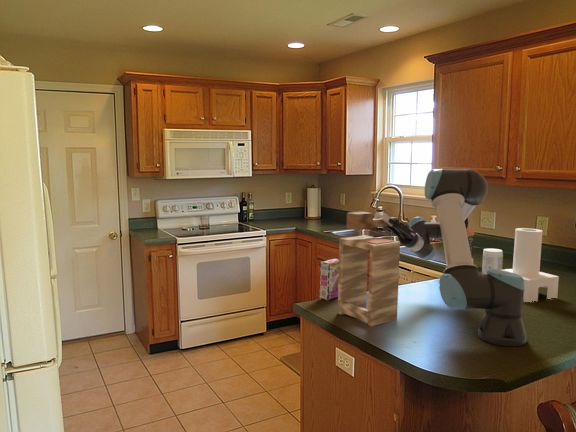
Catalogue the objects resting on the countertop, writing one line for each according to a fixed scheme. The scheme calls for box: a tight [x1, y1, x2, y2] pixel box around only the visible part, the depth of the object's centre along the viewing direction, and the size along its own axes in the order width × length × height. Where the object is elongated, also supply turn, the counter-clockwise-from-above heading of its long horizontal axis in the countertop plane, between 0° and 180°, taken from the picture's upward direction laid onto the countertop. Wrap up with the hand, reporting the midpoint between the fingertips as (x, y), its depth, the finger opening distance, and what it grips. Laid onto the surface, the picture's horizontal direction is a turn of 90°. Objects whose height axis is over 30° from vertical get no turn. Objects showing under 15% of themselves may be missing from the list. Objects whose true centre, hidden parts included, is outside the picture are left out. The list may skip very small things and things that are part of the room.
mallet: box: [346, 211, 398, 231], centre depth 189 cm, size 24×6×6 cm, turn 127°
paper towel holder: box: [502, 227, 560, 303], centre depth 216 cm, size 19×19×30 cm
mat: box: [360, 237, 396, 244], centre depth 179 cm, size 8×10×1 cm
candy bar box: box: [319, 258, 339, 302], centre depth 209 cm, size 11×5×16 cm, turn 141°
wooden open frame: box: [337, 234, 401, 327], centre depth 184 cm, size 18×14×30 cm
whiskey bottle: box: [464, 216, 475, 263], centre depth 278 cm, size 10×10×32 cm
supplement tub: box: [481, 247, 504, 275], centre depth 248 cm, size 10×10×15 cm
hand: (379, 215), depth 191 cm, fingers closed on mallet, 3 cm apart
